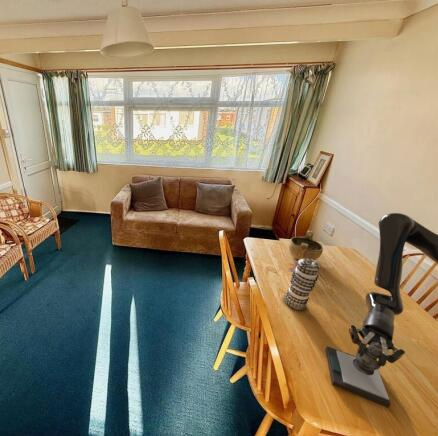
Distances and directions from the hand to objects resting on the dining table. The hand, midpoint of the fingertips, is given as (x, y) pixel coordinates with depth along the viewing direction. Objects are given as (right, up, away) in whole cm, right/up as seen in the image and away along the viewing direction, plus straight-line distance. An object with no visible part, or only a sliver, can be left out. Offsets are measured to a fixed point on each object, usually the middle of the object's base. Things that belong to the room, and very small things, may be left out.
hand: (370, 359), depth 70 cm
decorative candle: (0, +3, +37) cm, 37 cm away
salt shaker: (+2, -6, +5) cm, 8 cm away
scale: (+1, -11, +8) cm, 13 cm away
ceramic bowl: (+27, +19, +71) cm, 78 cm away
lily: (+14, +11, +56) cm, 59 cm away
